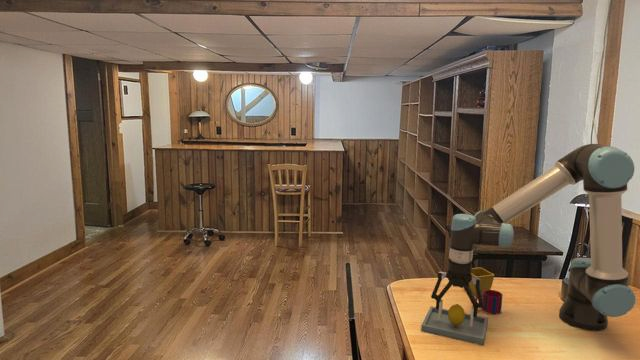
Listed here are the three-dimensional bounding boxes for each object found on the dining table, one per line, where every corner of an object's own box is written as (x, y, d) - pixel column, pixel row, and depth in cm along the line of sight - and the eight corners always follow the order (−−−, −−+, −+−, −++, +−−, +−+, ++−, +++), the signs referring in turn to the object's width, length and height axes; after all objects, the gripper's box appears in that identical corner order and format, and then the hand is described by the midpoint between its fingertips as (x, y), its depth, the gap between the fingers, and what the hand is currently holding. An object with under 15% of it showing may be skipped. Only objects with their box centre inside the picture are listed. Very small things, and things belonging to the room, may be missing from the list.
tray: (487, 323, 159) (487, 317, 159) (483, 345, 145) (483, 339, 144) (430, 311, 167) (430, 306, 167) (421, 331, 153) (421, 325, 153)
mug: (503, 314, 166) (505, 297, 165) (477, 314, 166) (478, 297, 165) (496, 306, 173) (498, 289, 172) (470, 306, 173) (472, 289, 171)
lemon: (451, 320, 160) (452, 299, 158) (466, 325, 156) (468, 304, 155) (444, 326, 156) (446, 304, 154) (460, 331, 152) (461, 309, 151)
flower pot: (461, 289, 188) (463, 268, 186) (479, 287, 190) (481, 267, 189) (474, 298, 180) (476, 277, 178) (493, 295, 182) (495, 274, 181)
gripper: (424, 258, 153) (420, 319, 157) (495, 269, 144) (489, 333, 148) (428, 251, 160) (425, 310, 164) (496, 262, 151) (490, 323, 155)
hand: (455, 321), depth 156 cm, fingers open, 10 cm apart
